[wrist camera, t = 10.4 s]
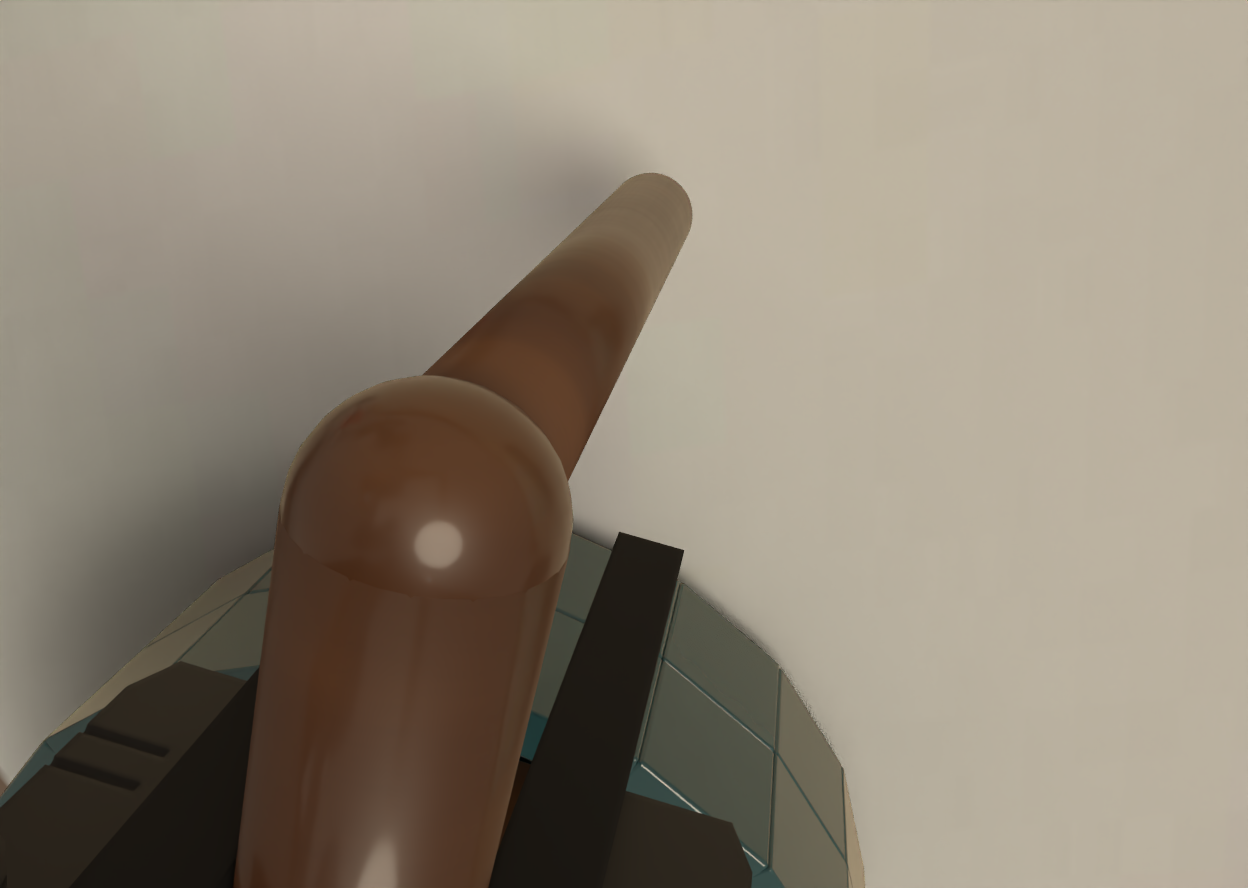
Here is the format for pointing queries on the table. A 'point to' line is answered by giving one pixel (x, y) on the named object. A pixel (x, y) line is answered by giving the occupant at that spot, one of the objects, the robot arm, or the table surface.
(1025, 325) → the table surface
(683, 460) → the table surface
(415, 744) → the bent wooden rod
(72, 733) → the mixing bowl
